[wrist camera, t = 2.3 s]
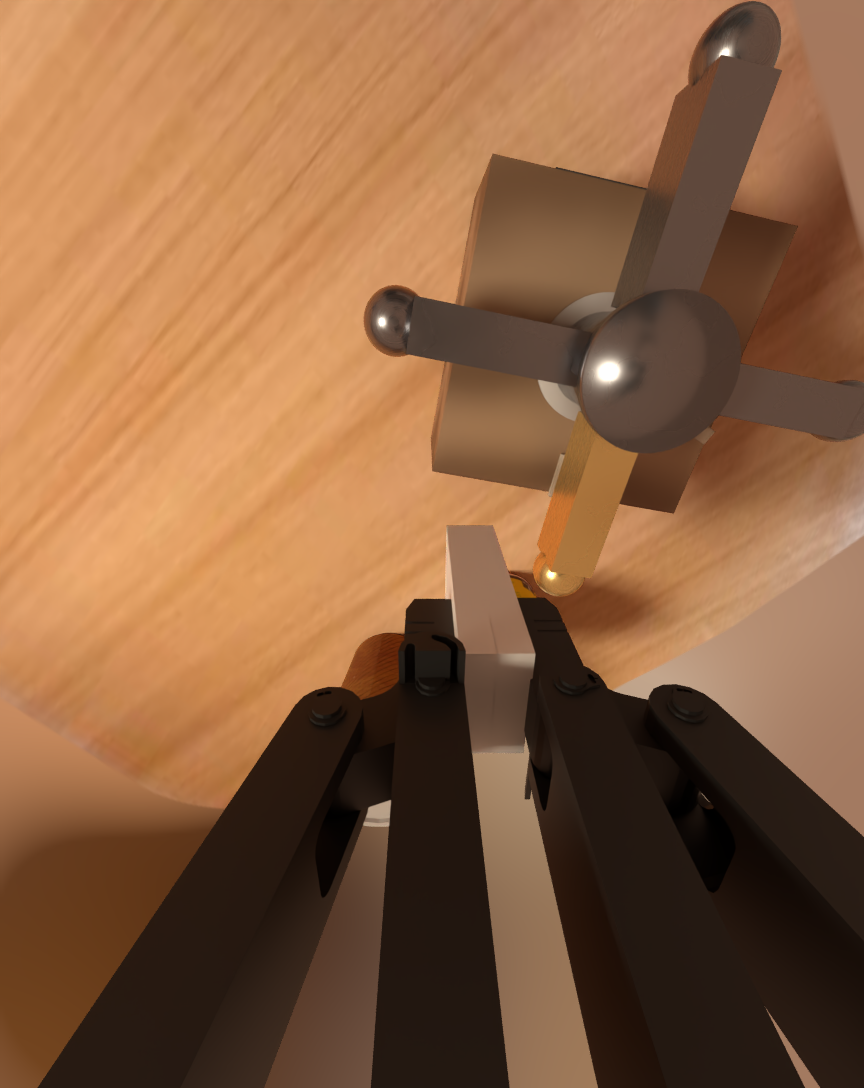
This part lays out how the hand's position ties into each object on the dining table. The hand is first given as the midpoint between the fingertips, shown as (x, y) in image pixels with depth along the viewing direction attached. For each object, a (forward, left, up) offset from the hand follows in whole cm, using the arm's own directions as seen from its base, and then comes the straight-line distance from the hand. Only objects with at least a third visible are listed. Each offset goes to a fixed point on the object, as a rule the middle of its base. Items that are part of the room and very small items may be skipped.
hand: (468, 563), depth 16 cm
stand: (-7, +6, -19) cm, 21 cm away
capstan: (-7, +6, -11) cm, 14 cm away
